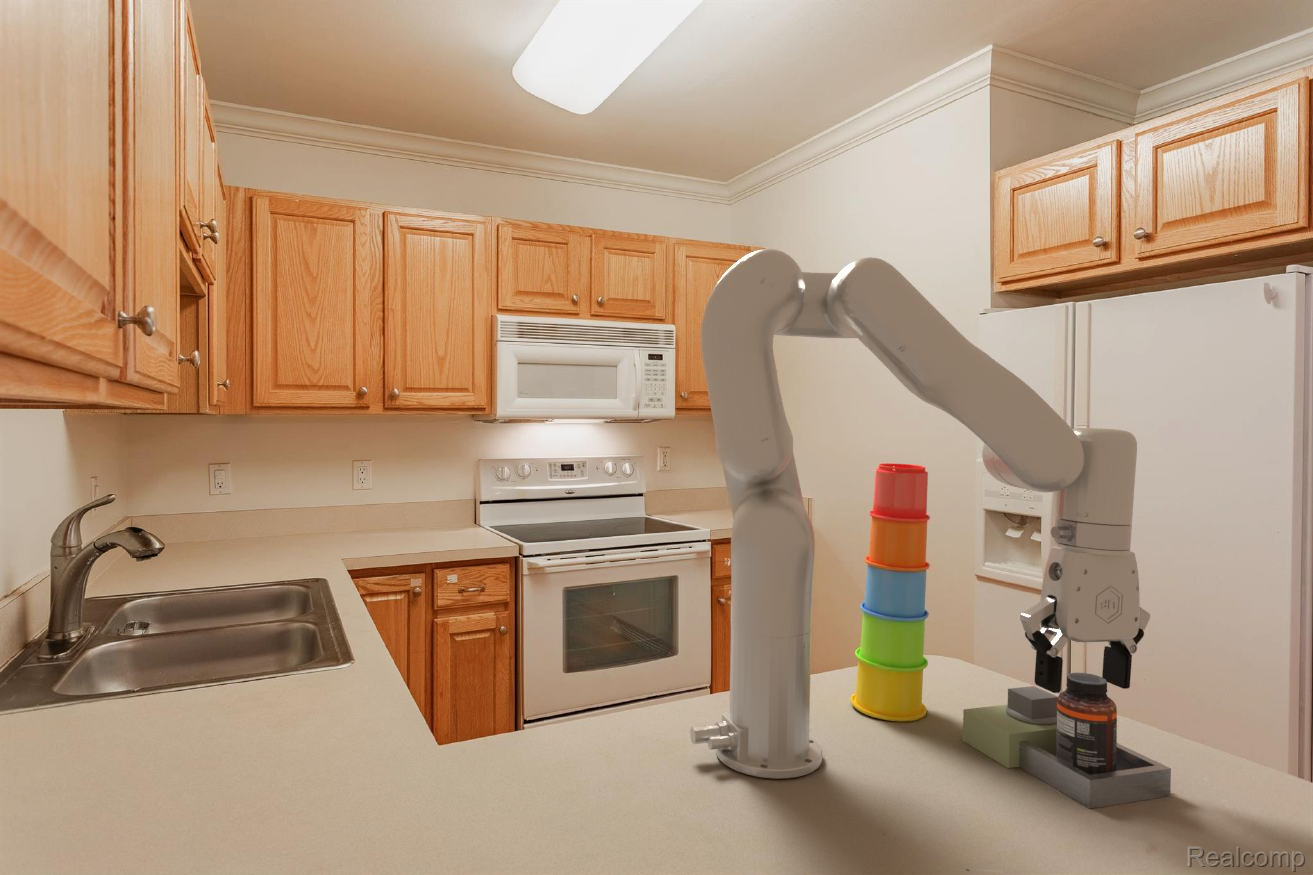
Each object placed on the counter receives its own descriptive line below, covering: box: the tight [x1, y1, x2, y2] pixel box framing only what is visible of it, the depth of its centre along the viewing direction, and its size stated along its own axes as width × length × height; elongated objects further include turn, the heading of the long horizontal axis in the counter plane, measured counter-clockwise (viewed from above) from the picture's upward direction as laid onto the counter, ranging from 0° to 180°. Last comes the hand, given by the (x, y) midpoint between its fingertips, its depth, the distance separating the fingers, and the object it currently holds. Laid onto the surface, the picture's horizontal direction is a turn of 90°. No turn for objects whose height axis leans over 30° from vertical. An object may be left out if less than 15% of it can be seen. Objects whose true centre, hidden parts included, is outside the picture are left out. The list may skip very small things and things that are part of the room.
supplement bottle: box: [1057, 672, 1118, 775], centre depth 86 cm, size 6×6×11 cm
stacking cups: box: [850, 462, 931, 723], centre depth 106 cm, size 10×10×35 cm
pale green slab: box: [962, 685, 1058, 769], centre depth 94 cm, size 14×8×7 cm, turn 106°
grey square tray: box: [1018, 741, 1172, 810], centre depth 85 cm, size 11×10×3 cm
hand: (1081, 686), depth 86 cm, fingers open, 9 cm apart
